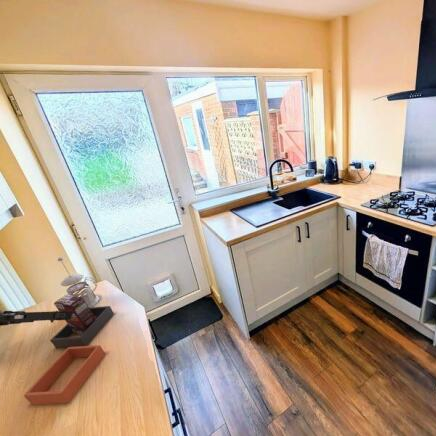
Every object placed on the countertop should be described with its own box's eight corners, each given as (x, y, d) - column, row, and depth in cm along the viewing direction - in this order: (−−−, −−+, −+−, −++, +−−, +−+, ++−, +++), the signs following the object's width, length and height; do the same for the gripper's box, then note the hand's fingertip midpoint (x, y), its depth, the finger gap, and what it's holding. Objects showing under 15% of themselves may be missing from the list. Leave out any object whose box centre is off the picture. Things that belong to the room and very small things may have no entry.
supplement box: (72, 333, 96) (52, 303, 89) (84, 323, 100) (66, 293, 94) (89, 336, 94) (69, 305, 87) (101, 326, 98) (83, 295, 91)
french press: (76, 301, 114) (48, 256, 104) (105, 291, 118) (81, 247, 108) (70, 315, 106) (39, 267, 95) (101, 304, 110) (76, 257, 100)
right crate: (56, 348, 90) (49, 340, 88) (88, 315, 104) (83, 307, 103) (86, 346, 90) (80, 338, 88) (114, 313, 104) (109, 305, 102)
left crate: (31, 404, 72) (23, 395, 71) (74, 355, 87) (68, 347, 85) (68, 402, 72) (61, 393, 70) (105, 353, 86) (100, 345, 84)
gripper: (-79, 338, 64) (14, 330, 84) (10, 332, 62) (83, 326, 82) (-66, 307, 66) (21, 307, 86) (20, 301, 65) (88, 302, 85)
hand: (52, 316), depth 84 cm, fingers open, 13 cm apart
